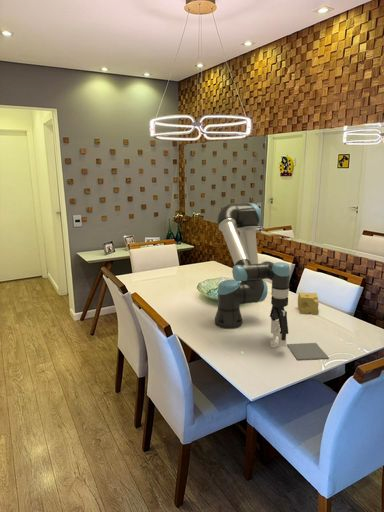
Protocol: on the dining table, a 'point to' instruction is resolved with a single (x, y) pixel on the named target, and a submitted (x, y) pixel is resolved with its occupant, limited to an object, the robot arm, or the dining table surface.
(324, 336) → the dining table surface
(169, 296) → the dining table surface
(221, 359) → the dining table surface
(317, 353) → the mat
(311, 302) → the cheese
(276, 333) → the figurine
